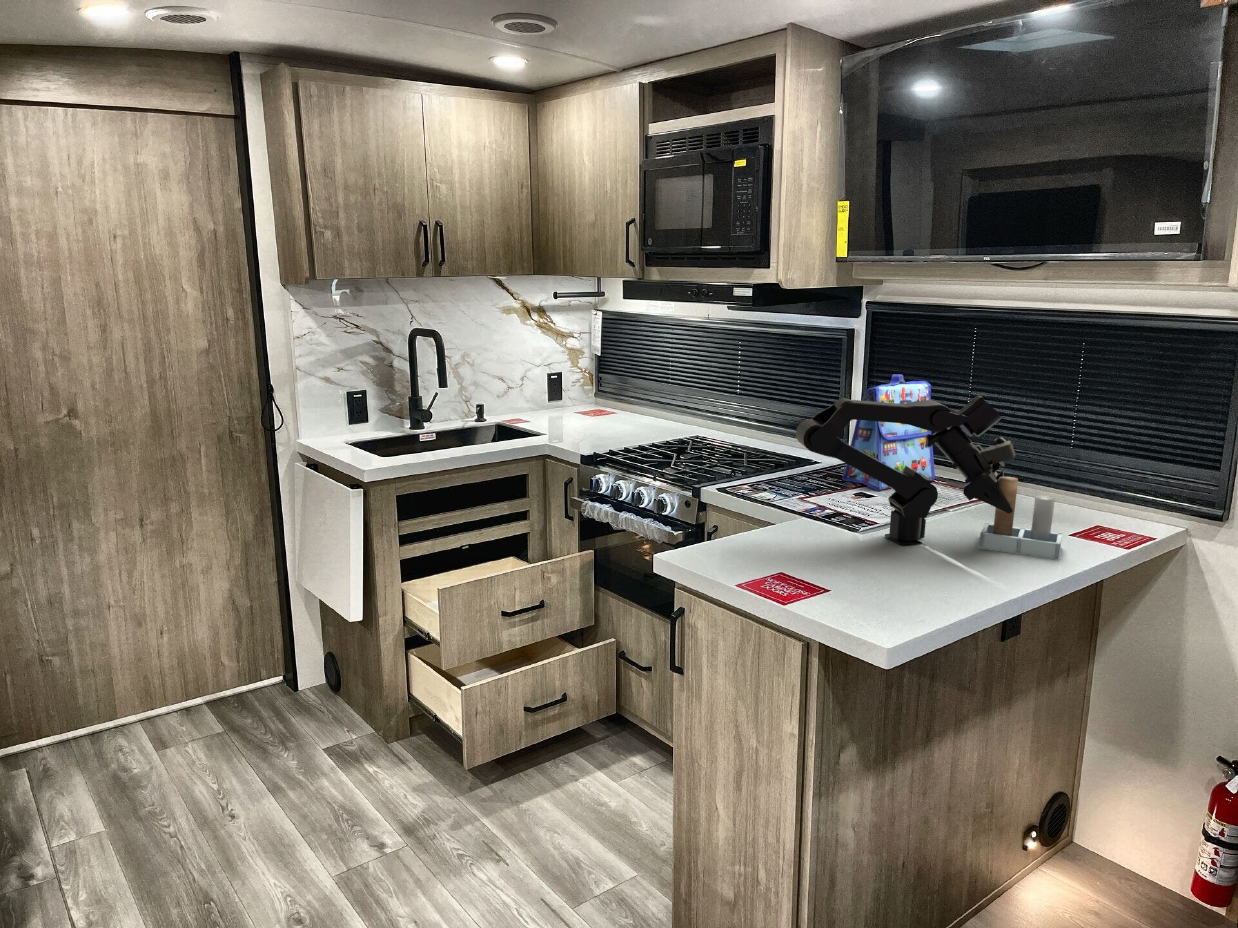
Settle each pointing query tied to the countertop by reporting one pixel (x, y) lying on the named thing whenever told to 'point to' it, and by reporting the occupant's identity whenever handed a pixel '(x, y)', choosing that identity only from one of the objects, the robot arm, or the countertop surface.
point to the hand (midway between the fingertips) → (1012, 509)
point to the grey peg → (1042, 518)
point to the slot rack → (1020, 543)
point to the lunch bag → (893, 434)
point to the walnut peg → (1003, 519)
